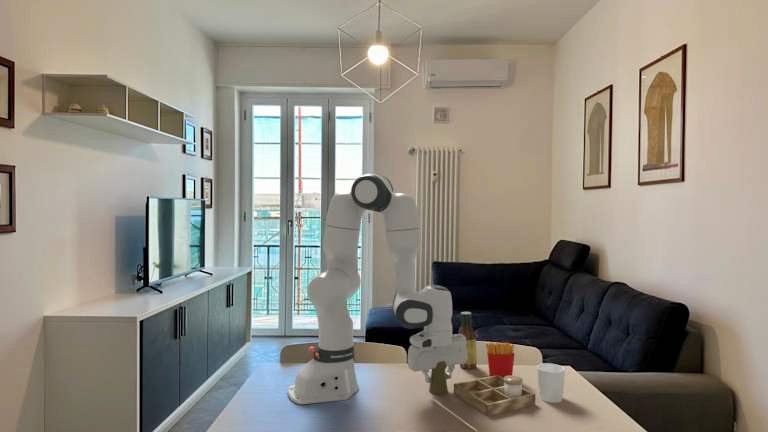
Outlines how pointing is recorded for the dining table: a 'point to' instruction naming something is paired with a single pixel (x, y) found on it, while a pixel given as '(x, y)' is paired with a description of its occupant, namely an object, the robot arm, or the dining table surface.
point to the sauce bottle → (468, 340)
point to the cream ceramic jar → (513, 386)
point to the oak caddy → (491, 395)
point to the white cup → (550, 382)
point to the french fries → (500, 359)
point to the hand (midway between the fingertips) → (438, 380)
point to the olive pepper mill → (439, 380)
